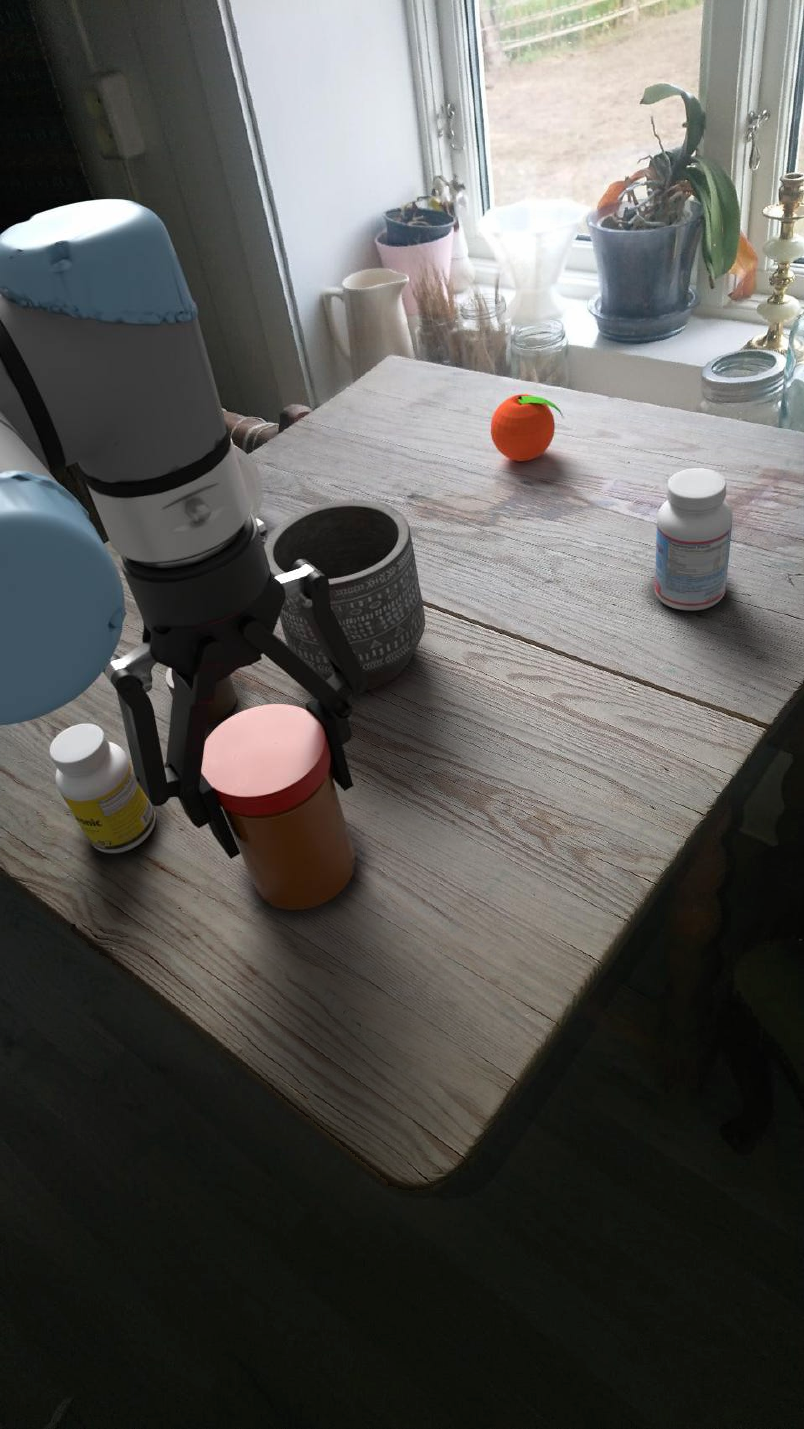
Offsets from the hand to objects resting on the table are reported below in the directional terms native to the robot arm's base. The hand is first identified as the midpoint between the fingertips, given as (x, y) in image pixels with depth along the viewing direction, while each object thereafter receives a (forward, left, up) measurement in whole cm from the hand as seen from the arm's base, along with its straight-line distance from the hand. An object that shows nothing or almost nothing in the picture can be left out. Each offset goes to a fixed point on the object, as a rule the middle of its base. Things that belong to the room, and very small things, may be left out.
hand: (284, 809), depth 67 cm
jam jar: (0, 0, -6) cm, 6 cm away
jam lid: (0, 0, +6) cm, 6 cm away
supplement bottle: (-16, -1, -7) cm, 17 cm away
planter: (-6, +22, -7) cm, 24 cm away
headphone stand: (-29, +38, -7) cm, 48 cm away
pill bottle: (+19, +38, -7) cm, 43 cm away
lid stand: (-17, +13, -6) cm, 22 cm away
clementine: (-3, +58, -7) cm, 58 cm away
